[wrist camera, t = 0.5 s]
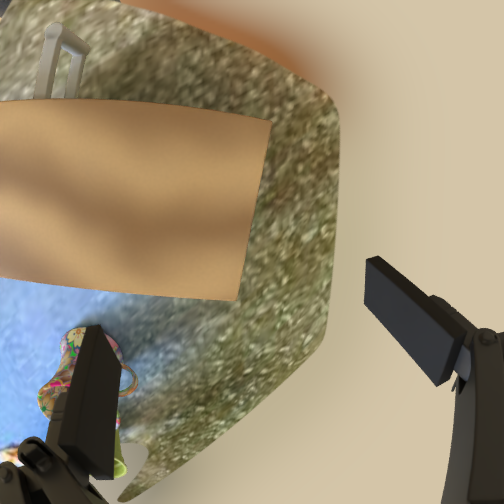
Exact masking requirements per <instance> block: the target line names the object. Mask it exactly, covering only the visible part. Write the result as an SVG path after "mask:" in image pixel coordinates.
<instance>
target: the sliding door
mask: <svg viewBox="0 0 504 504" xmlns="http://www.w3.org/2000/svg"><path fill="white" fill-rule="evenodd" d="M44 36H45V42H44V46H43V50H42V54H41V59H40V63H39V68H38V73H37V78H36V84H35V89H34V95H33V99H51V93H52V88H53V82H54V77H55V72H56V67H57V62H58V58H59V53H60V49H61V48H62V49H63V50H65V51H67V52H69V53H71V54H72V60H71V64H70V69H69V74H68V79H67V84H66V90H65V96H64V98H78V94H79V89H80V83H81V78H82V73H83V68H84V63H85V59H86V56H87V55H88V53H89V51H90V46H89V45H88V44H87V43H86V42H84V41H83V40H82V39H81V38H79V37H78V36H77V35H76V34H74V33H73V32H72V31H70V30H69V29H68V28H66V27H65V26H64V25H63V24H61V23H59V22H55V23H52V24H50V25H49V26H48V27H47V29H46V30H45V34H44Z"/></svg>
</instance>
